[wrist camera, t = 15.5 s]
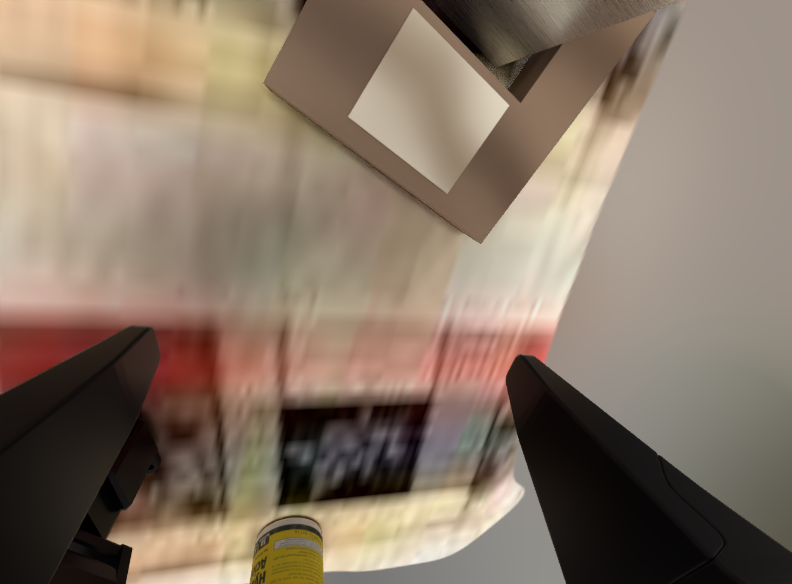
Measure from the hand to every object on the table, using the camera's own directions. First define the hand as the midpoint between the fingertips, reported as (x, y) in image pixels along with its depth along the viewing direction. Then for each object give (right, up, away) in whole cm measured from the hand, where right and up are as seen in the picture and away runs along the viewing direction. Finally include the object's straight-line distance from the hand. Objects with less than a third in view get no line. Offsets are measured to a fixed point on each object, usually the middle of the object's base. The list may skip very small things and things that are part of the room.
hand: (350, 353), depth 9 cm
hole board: (+5, +15, +9) cm, 18 cm away
